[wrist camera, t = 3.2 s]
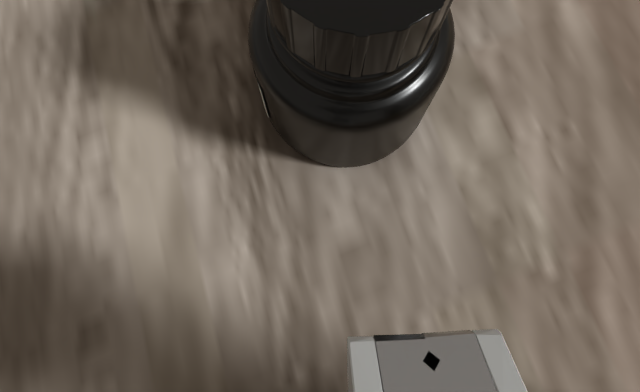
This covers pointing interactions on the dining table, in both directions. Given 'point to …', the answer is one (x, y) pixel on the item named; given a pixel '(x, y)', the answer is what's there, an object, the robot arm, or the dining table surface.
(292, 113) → the ink bottle
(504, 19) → the dining table surface
